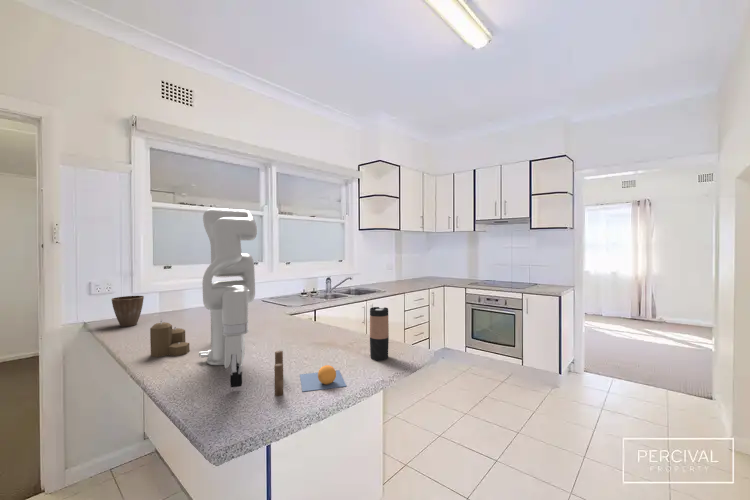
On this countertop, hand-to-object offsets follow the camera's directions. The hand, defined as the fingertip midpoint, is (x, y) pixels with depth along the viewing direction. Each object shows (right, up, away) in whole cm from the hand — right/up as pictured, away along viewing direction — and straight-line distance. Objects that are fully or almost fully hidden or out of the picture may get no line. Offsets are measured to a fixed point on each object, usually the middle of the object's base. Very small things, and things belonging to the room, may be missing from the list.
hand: (236, 385), depth 106 cm
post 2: (+14, -2, -3) cm, 15 cm away
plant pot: (-97, 0, +86) cm, 130 cm away
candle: (-44, -1, +37) cm, 58 cm away
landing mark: (+26, -1, +7) cm, 27 cm away
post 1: (+11, -1, +10) cm, 15 cm away
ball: (+28, +2, +5) cm, 28 cm away
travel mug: (+46, -1, +30) cm, 54 cm away
